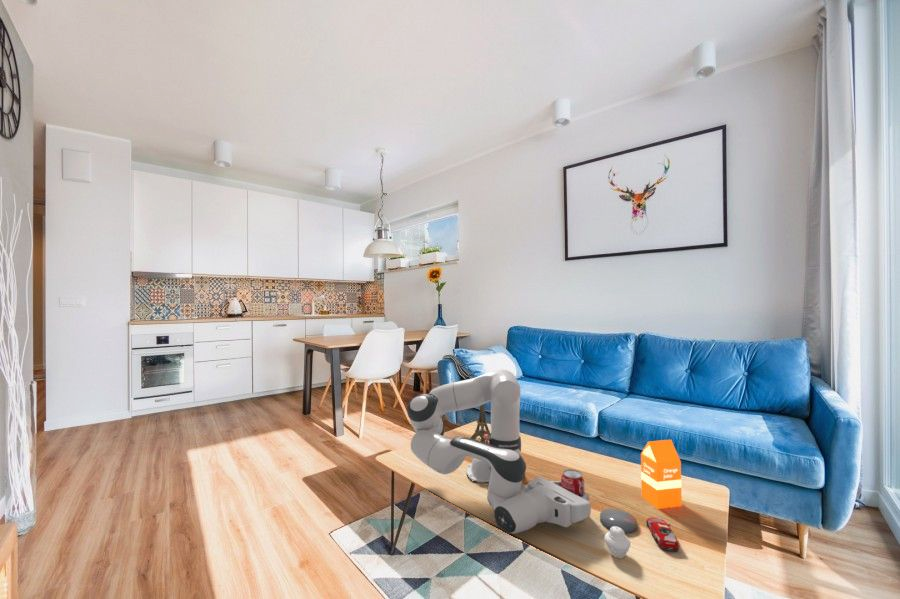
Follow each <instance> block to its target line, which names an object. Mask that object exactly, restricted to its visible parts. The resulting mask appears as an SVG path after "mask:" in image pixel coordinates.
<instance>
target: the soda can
mask: <svg viewBox="0 0 900 599" xmlns="http://www.w3.org/2000/svg"><path fill="white" fill-rule="evenodd" d="M560 480H561V487H562V488H564V489H566V490H568V491H570V492H572V493H574V494H576V495H577V496H579V497H582V496H581V494H582V493H586V492H585V490H586V489H585V480H584V477H583V474H582V472H580V471H579V470H577V469H564V470H563V471H562V474H561V478H560Z"/></svg>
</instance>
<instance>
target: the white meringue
mask: <svg viewBox="0 0 900 599" xmlns="http://www.w3.org/2000/svg"><path fill="white" fill-rule="evenodd" d="M604 541H605V544H606V547H607V549H608V550H609V553H610V554H611V556H613V557H614V556H616V557H615V558H617V557H623V558H625V556H626V554H627V553H628V551H629V549H630V548H631V540H630V539H629V537H628V536H627V534H625V533H624V531H623V530H622V529H621V528H620V527H616V526H615V527H614V526H613V527H611V528H610V530H609V531H608V532H606V534H605V535H604Z"/></svg>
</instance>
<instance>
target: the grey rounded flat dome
mask: <svg viewBox="0 0 900 599" xmlns="http://www.w3.org/2000/svg"><path fill="white" fill-rule="evenodd" d="M599 519H600V524H601V523H602V524H601V525H602V526H603V527H604V528H606V529H607V530H609V531H610V528H611V527H613V526H614V527H615V526H616V527H620V528H621V529H622V530H623V531H624V533H625V535H627V534H633V533H635V532H636V531H637V529H638V521H637V519H636V518H635V516H633V515H632V514H630V513H629V512H627V511H624V510H622V509H616V508H606V509H603V510H602V511H601V512H600V514H599Z"/></svg>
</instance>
